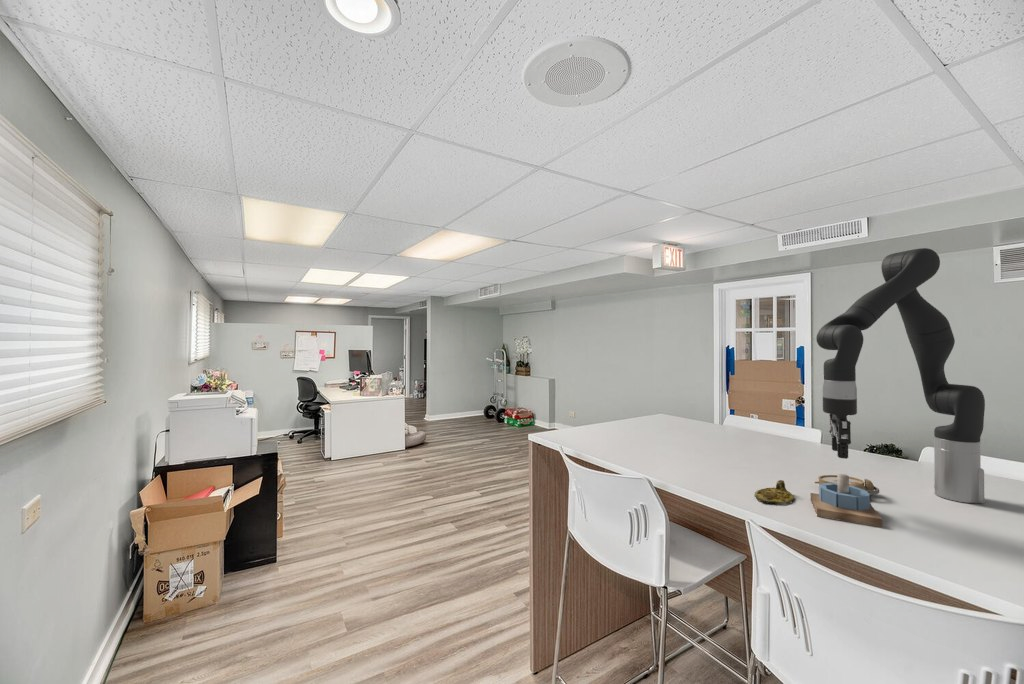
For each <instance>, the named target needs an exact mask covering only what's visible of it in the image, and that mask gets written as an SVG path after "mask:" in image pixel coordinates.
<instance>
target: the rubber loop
mask: <svg viewBox="0 0 1024 684" xmlns="http://www.w3.org/2000/svg"><path fill="white" fill-rule="evenodd" d="M818 489H819V490H818V494H819V497H820V500H821V501H822V502H824V503H827V504H830V505H832V506H835V507H838V508H844V509H850V510H858V511H859V510H866V509H870V504H871V495H869V493H868V492H867V491H865V490H863V489H860V488H857V487H854V486H851V485H850V486H849V494H842V493H838V483H823V484H819V485H818Z"/></svg>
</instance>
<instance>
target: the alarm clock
mask: <svg viewBox="0 0 1024 684" xmlns="http://www.w3.org/2000/svg"><path fill="white" fill-rule="evenodd" d="M817 479H818V481H814V484H823V483H837V474H827V475H826V474H825V475H819V476H818V478H817ZM850 485H851V486H854V487H857V488H860V489H863V490H865V491H867V492H868V493H869V495H870V496H872V495H877V494H880V488H878V487H877V486H875V485H874V483H873V482H872V481H871V480H870V479H868V478H864V480H863V479H861V478H860V479H859V478H857V477H852V476H849V486H850Z"/></svg>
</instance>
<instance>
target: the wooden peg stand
mask: <svg viewBox="0 0 1024 684" xmlns="http://www.w3.org/2000/svg"><path fill="white" fill-rule="evenodd" d="M836 475H837V483H838V493H842V494H849V477H850V476H849V475H848V474H845V473H837V474H836ZM810 502H811V504H813V505H812V507H813V509H815V510H814V512H815V514H817V515H816V516H817V517H818V516H821V517H820V518H824V517H827V518H826V519H830V518H833V519H832V520H836V519H839V520H838V521H842V520H843V521H844V522H848V521H849V523H855V524H861V525H867V526H872V525H873V527H878V526H879V528H882V527H883V526H882V524H883V523H882V522H883V521H882V520H883V519H882V517H881V516H880V515H879V514H878V512H877V511H876V509H875V507H874V506H873V505H872V504H871V503H870V509H866V510H859V511H858V510H850V509H844V508H838V507H835V506H832V505H830V504H827V503H824V502H822V501H821V500H820V497H819V493H814V492H810ZM880 526H881V527H880Z"/></svg>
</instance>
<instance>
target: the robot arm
mask: <svg viewBox="0 0 1024 684" xmlns="http://www.w3.org/2000/svg"><path fill="white" fill-rule="evenodd" d="M940 265H941V260H940V256H939V254H938V253H937V252H936V251H935V250H934V249H931V248H928V247H925V248H923V247H922V248H915V249H910V250H906V251H905V250H904V251H899V252H895V253H890V254H888V255H886V256H885V257H884V258H883V260H882V261H881V267H880V268H881V274H882V277H883V280H884V283H882V284H881V285H879V286H877V287H875V288H873V289H872V290H869V291H868V292H866V293H864V294H863V295H861V296H860V297H859V298H858V299H856V301H855V302H854V303H852V305H851V306H850V307H848V308H847V309H846V310H845V312H843V313H841V314H839V315H838V316H836V317H835V318H833V319H831V320H830V321H828V322H826V323H825V324H824V325H822V326H821V328H820V329H819V330H818V332H817V334H816V338H815V340H816V343H817V345H818V346H819V347H820V348H821V349H824V350H827V351H836V354H835V356H834V358H829V359H826V360H825V361H824V363H823V383H822V412H823V413H826V414H829V434H830V437H831V450H832V451H833V452H837V454H836V455H837V457H838V458H839V459H844V460H845V459H846V460H847V459H848V458H849V445H851V444H852V439H851V435H852V434H851V425H852V424H851V421H850V420H849V421H848V417H847V416H856V415H858V391H857V390H858V389H857V388H858V387H857V381H856V380H857V379H856V374H857V373H856V366H857V363H858V360H859V357H860V354H861V351H862V348H863V345H864V335H863V332H862V331H865V330H868V329H869V328H871V327H872V326H873V325H874V324H876V322H877V321H878V320H879V319H880V318H881V317H882V316H883V315H884V314H885V313H886V312H887V311H888V310H889V309H890V308H891V307H892V306H894V305H895V304H896V308H897V309H898V311H899V314H900V317H901V320H902V322H903V325H904V330H905V333H906V335H907V338H908V341H909V344H910V346H911V349H912V351H913V355H914V357H915V361H916V365H917V367H918V370H919V375H920V381H921V385H922V390H923V394H924V395H923V396H924V399H925V401H926V404H927V406H928V407H929V409H930V410H932V411H933V412H934V413H937V414H941V415H947V416H954V419H953V422H952V423H951V424H947V425H938V426H936V427H934V430H933V431H934V432H933V434H934V435H933V441H934V443H933V444H934V445H933V446H934V448H933V453H934V458H933V459H934V461H933V462H934V464H933V465H934V466H933V467H934V477H933V478H934V485H933V486H934V494H935V495H936V496H938V497H941V498H943V499H947V500H951V501H955V502H960V503H968V504H985V469H983V468H982V467H981V466H982V465H981V460H982V459H981V458H982V457H981V456H982V455H981V437H982V433H983V432H984V425H985V424H984V420H985V411H986V409H985V408H986V401H985V396H984V393H983V391H982V390H981V389H980V388H979V387H977V386H975V385H968V384H967V385H966V384H957V383H955V384H954V383H949V381H948V379H947V377H946V372H945V365H946V362H947V360H948V359H949V357H950V355H951V353H952V351H953V349H954V348H955V347H954V346H955V342H956V339H955V336H954V333H953V330H952V327H951V325H950V322H949V320H948V318H947V317H946V316H945V314H943V312H941V311H940V310H939V309H938V308H936V307H935V306H934V305H933V304H931V303H929V301H927V300H926V299H925V298H924V297H923V296H922V295H921V293H920V292H919V291H918V289H917V288H918V287H920V286H921V285H923V284H924V283H926V282H927V281H929V280H930V279H932V278H933V277H934V276H935V275H937V273H938V271H939V269H940Z"/></svg>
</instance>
